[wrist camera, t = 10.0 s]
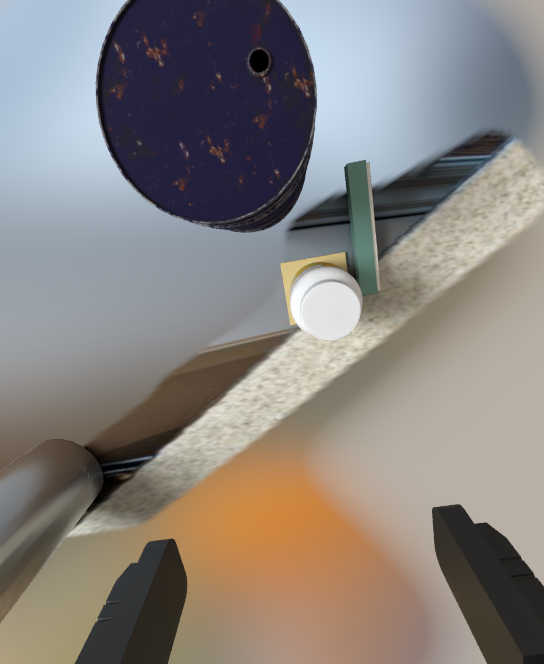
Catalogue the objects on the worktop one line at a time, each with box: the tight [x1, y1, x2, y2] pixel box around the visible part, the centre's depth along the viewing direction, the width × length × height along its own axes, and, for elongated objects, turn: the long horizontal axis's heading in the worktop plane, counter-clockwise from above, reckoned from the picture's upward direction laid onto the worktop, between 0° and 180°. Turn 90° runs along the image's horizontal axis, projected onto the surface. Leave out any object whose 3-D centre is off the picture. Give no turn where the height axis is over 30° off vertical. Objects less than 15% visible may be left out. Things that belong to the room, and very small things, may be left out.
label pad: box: [280, 252, 348, 325], centre depth 31 cm, size 6×6×1 cm
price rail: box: [344, 160, 381, 296], centre depth 28 cm, size 2×11×2 cm, turn 10°
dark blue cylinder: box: [96, 0, 317, 232], centre depth 21 cm, size 10×10×15 cm
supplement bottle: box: [290, 262, 363, 340], centre depth 26 cm, size 5×5×10 cm
